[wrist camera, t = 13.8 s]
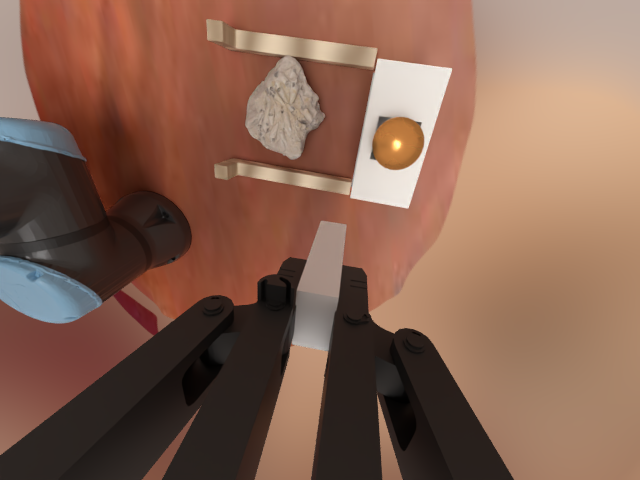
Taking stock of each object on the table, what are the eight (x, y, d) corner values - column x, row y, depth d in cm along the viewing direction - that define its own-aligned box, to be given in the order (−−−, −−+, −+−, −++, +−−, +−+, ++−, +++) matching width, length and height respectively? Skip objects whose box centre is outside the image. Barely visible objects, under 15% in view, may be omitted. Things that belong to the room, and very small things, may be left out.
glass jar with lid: (367, 153, 33) (367, 165, 26) (376, 113, 31) (379, 113, 24) (404, 160, 33) (415, 173, 26) (415, 119, 31) (431, 121, 23)
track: (233, 169, 44) (215, 177, 39) (230, 33, 36) (206, 18, 30) (349, 190, 43) (347, 201, 37) (376, 52, 34) (378, 41, 29)
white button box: (353, 176, 42) (348, 197, 31) (373, 74, 35) (376, 58, 24) (397, 183, 41) (408, 208, 30) (425, 82, 35) (452, 68, 24)
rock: (294, 163, 42) (285, 170, 37) (243, 113, 40) (225, 113, 35) (342, 109, 38) (338, 108, 33) (287, 48, 36) (273, 38, 30)
